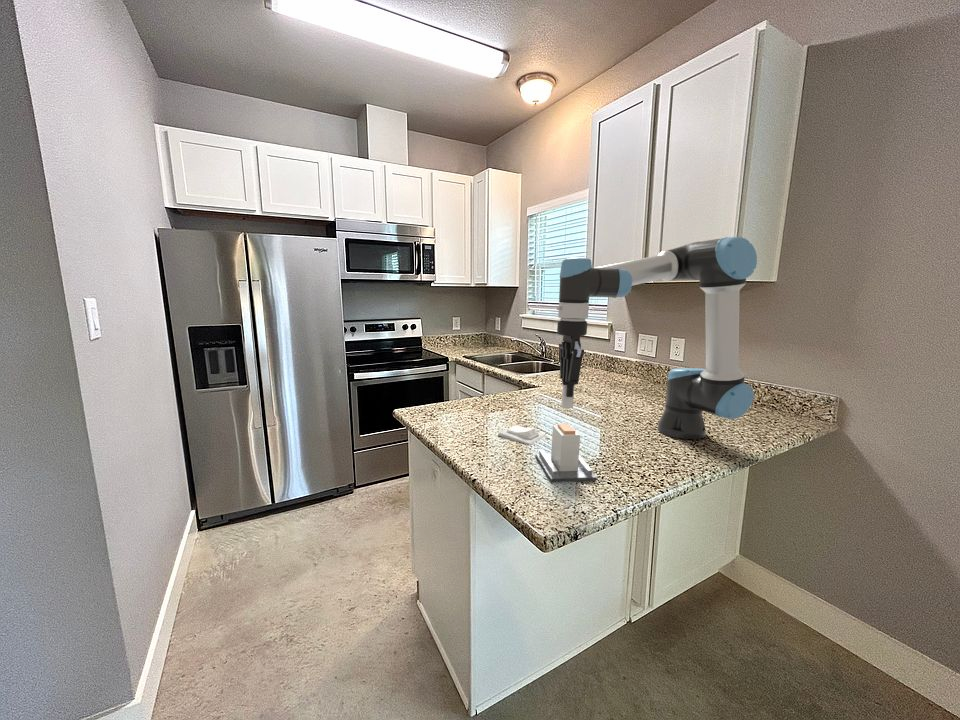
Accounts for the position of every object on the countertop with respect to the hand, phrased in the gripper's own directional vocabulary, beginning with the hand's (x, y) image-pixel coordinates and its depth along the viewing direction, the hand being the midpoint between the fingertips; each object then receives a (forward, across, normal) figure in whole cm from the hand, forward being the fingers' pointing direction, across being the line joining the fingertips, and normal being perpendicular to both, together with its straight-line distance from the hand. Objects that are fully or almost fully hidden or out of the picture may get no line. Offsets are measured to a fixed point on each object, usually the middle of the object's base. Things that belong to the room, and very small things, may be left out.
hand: (567, 407), depth 104 cm
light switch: (+18, -25, -6) cm, 32 cm away
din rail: (+17, 0, 0) cm, 17 cm away
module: (+16, 0, 0) cm, 16 cm away
